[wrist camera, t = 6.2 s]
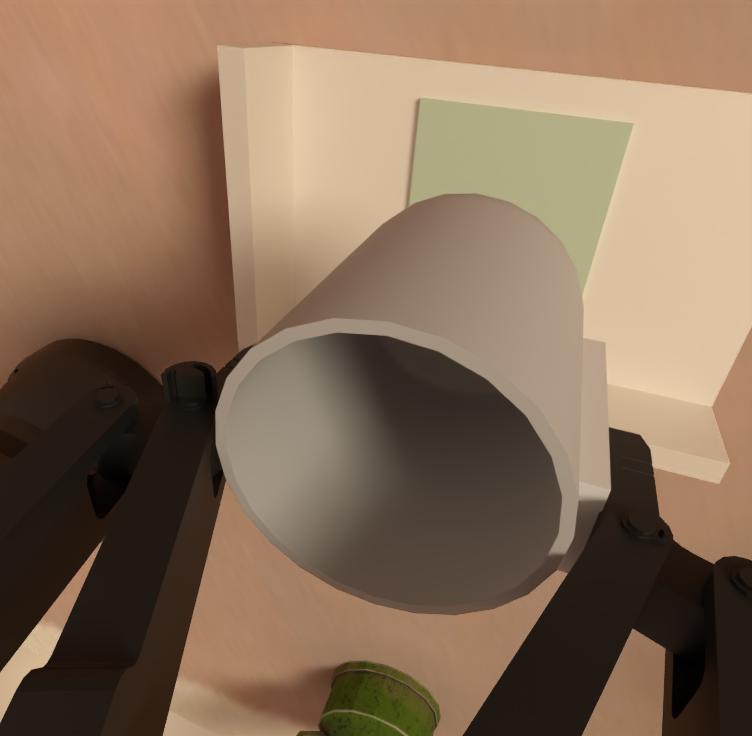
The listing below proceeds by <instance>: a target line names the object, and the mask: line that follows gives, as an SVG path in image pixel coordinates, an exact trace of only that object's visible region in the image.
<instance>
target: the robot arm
mask: <svg viewBox="0 0 752 736" xmlns="http://www.w3.org/2000/svg"><path fill="white" fill-rule="evenodd" d="M254 345H255V344H254ZM254 345H251V346H249V347H247V348H245V349H243V350H242V351H240V352H239V353H238V354H237V355H236V356H235V357H234V358H233V360H231V361H230V362H228V363H227V364H226V366H225V367H223V368H222V369H221V370H220V371H219V372H218V373H217V374H216V370H215V369H214V368H213V367H212V366H211V365H209V364H207V363H204V362H197V361H190V362H182V363H178V364H175V365H173V366H171V367H169V368H167V369H166V370H165V371H164V372H163V373H162V374H161V376H162V382H163V387H162V386H161V385H160V384H159V383H158V382H157V381H156V380H155V379H154V378H153V377H152V376H151V375H150V374H149V373H147V372H146V371H145V370H144V369H143V368H141V367H140V366H139V365H138V364H136V363H135V362H133V361H132V360H130V359H129V358H127V357H126V356H124V355H122V354H121V353H119V352H117V351H115V350H113V349H111V348H108V347H106V346H104V345H101V344H98V343H95V342H91V341H86V340H80V339H65V340H59V341H56V342H53V343H51V344H49V345H47V346H45V347H44V348H42V349H40V350H38V351H37V352H35V353H33V354H32V355H30V356H28V357H27V358H25V359H24V360H23V361H22V362H21V363H19V364H18V365H17V367H16V368H15V369H14V371H13V372H12V374H11V375H10V377H9V379H8V382H7V383H6V384H5V385H4V386H3V387H2V388H1V389H0V672H1V671H2V669H3V668H4V667H5V665H6V664H7V663H8V661H9V660H10V659H11V657H12V656H13V655H14V654H15V652H16V651H17V650H18V648H19V647H20V646H21V645H22V643H23V642H24V641H25V639H26V638H27V637H28V635H29V634H30V633H31V632H32V630H33V629H34V628H35V626H36V625H37V624H38V622H39V621H40V620H41V619H42V617H43V616H44V615H45V613H46V612H47V611H48V609H49V608H50V607H51V606H52V604H53V603H54V602H55V600H56V599H57V598H58V597H59V595H60V594H61V593H62V591H63V590H64V589H65V587H66V586H67V585H68V584H69V582H70V581H71V580H72V578H73V577H74V576H75V574H76V573H77V572H78V571H79V569H80V568H81V567H82V565H83V564H84V563H85V561H86V560H87V559H88V558H89V556H90V555H91V554H92V552H93V551H94V550H95V548H96V547H97V546H98V545H99V543H100V542H102V541H103V542H102V544H101V547H100V549H99V551H98V553H97V556H96V558H95V560H94V562H93V564H92V567H91V569H90V571H89V573H88V576H87V578H86V580H85V582H84V584H83V587H82V589H81V591H80V593H79V596H78V598H77V600H76V602H75V604H74V607H73V609H72V611H71V613H70V616H69V618H68V620H67V622H66V624H65V627H64V629H63V631H62V633H61V636H60V638H59V640H58V642H57V644H56V647H55V649H54V651H53V653H52V655H51V657H50V659H49V661H48V663H47V664H46V665H45V666H44V667H42V668H38V669H33V670H31V671H30V672H29V673H28V674H27V675H26V676H25V677H24V678H23V680H22V682H21V683H20V685H19V686H18V688H17V690H16V692H15V694H14V696H13V698H12V700H11V702H10V704H9V706H8V708H7V711H6V712H5V714H4V717H3V719H2V721H1V723H0V736H163V732H164V728H165V724H166V720H167V716H168V712H169V708H170V704H171V700H172V696H173V692H174V688H175V684H176V680H177V676H178V672H179V668H180V663H181V659H182V655H183V651H184V647H185V643H186V639H187V635H188V631H189V627H190V623H191V619H192V615H193V611H194V607H195V603H196V599H197V595H198V591H199V587H200V583H201V579H202V575H203V571H204V567H205V563H206V559H207V555H208V550H209V546H210V542H211V538H212V534H213V530H214V526H215V522H216V518H217V514H218V510H219V506H220V502H221V498H222V494H223V490H224V486H225V482H226V478H225V475H224V472H223V468H222V465H221V461H220V458H219V455H218V451H217V448H216V418H215V411H216V408H217V405H218V402H219V399H220V396H221V393H222V390H223V387H224V384H225V381H226V378H227V377H228V376H229V374H230V373H231V372H232V371H233V369H234V368H235V367H236V366H237V365H238V363H239V362H240V361H241V360H242V358H243V357H244V356H245V355H246V354H247V352H248V351H249V350H250V349H251V348H252V347H253V346H254ZM653 475H654V472H653V466H652V457H651V449H650V448H649V446H648V445H647V443H646V442H645V441H644V439H643V438H642V436H641V435H640V434H635V433H631V432H627V431H623V430H619V429H615V428H611V427H609V424H608V397H607V371H606V344H605V342H601V341H596V340H591V339H586V338H583V357H582V395H581V432H580V470H579V500H578V509H577V517H576V525H575V534H574V539H573V541H572V542H571V544H570V546H569V548H568V550H567V552H566V553H565V555H564V557H563V559H562V561H561V563H560V565H559V566H558V568H557V570H559V571H563V572H566V573H568V575H567V576H566V578H565V579H564V581H563V582H562V584H561V585H560V587H559V588H558V590H557V591H556V593H555V595H554V596H553V598H552V599H551V601H550V602H549V604H548V605H547V607H546V608H545V610H544V611H543V613H542V615H541V616H540V618H539V619H538V621H537V622H536V624H535V625H534V627H533V628H532V630H531V631H530V633H529V635H528V636H527V638H526V639H525V641H524V642H523V644H522V645H521V647H520V648H519V650H518V651H517V653H516V654H515V656H514V658H513V659H512V661H511V662H510V664H509V665H508V667H507V668H506V670H505V671H504V673H503V674H502V676H501V678H500V679H499V681H498V682H497V684H496V685H495V687H494V688H493V690H492V691H491V693H490V694H489V696H488V698H487V699H486V701H485V702H484V704H483V705H482V707H481V708H480V710H479V711H478V713H477V714H476V716H475V718H474V719H473V721H472V722H471V724H470V725H469V727H468V728H467V730H466V731H465V733H464V734H463V736H582V734H583V732H584V729H585V727H586V725H587V723H588V721H589V719H590V717H591V715H592V713H593V710H594V708H595V706H596V704H597V702H598V700H599V698H600V696H601V694H602V692H603V689H604V687H605V685H606V683H607V681H608V679H609V677H610V675H611V673H612V671H613V668H614V666H615V664H616V662H617V660H618V658H619V656H620V654H621V652H622V650H623V647H624V645H625V643H626V641H627V639H628V637H629V635H630V633H631V631H632V629H635V630H636V631H638V632H640V633H641V634H643V635H645V636H646V637H648V638H649V639H651V640H653V641H654V642H656V643H658V644H659V645H661V646H663V647H664V648H666V653H665V676H664V700H663V723H662V736H752V561H751V560H749V559H745V558H741V557H737V556H729V557H723V558H721V559H720V560H718V561H716V563H715V564H712V563H710V562H709V561H707V560H705V559H703V558H701V557H699V556H697V555H695V554H693V553H691V552H690V551H688V550H686V549H685V548H683V547H682V546H680V545H679V544H678V543H677V542H675V541H674V540H673V534H672V532H671V530H670V528H669V526H668V525H667V524H666V523H665V522H664V521H663V519H662V518H661V517H660V516H659V509H658V501H657V494H656V486H655V479H654V477H653Z"/></svg>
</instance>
